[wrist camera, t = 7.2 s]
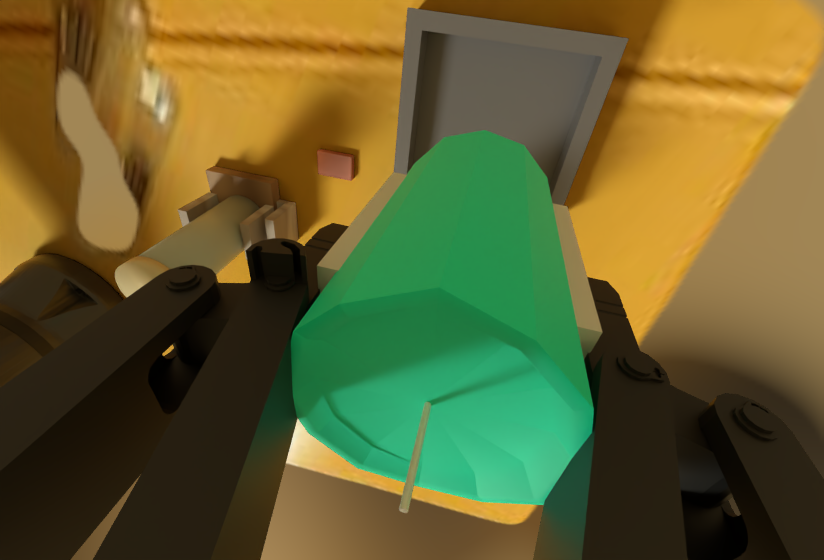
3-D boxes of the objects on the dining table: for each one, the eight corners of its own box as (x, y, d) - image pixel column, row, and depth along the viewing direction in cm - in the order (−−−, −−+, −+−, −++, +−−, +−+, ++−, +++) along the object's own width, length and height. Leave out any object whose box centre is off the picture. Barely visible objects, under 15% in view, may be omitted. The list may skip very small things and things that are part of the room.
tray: (400, 190, 31) (391, 203, 29) (417, 8, 24) (407, 7, 22) (548, 220, 30) (551, 236, 28) (617, 36, 22) (628, 38, 20)
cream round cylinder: (226, 232, 37) (128, 308, 27) (218, 189, 34) (104, 257, 24) (269, 242, 36) (184, 323, 27) (264, 200, 33) (166, 273, 24)
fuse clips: (228, 239, 39) (194, 265, 35) (203, 126, 32) (157, 141, 28) (456, 291, 36) (449, 326, 32) (483, 179, 29) (478, 206, 25)
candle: (584, 192, 14) (735, 561, 4) (485, 287, 17) (447, 606, 8) (458, 94, 13) (302, 290, 3) (380, 216, 17) (196, 479, 7)
